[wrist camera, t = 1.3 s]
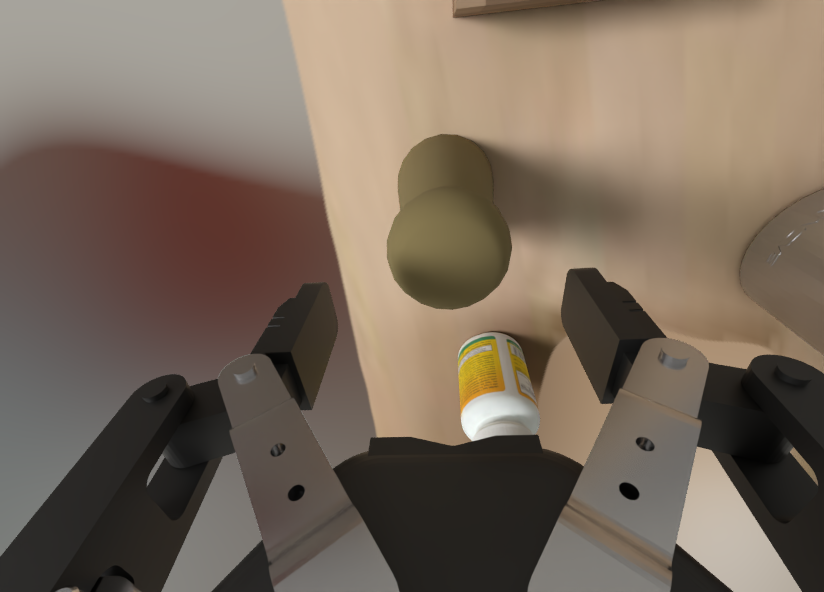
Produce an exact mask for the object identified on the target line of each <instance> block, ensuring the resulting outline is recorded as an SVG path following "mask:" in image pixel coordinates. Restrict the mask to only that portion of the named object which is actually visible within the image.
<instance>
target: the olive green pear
mask: <svg viewBox="0 0 824 592" xmlns="http://www.w3.org/2000/svg"><path fill="white" fill-rule="evenodd" d="M398 194H399V203H400V212H399V213H398V215H397V216H396V217H395V219H394V222H393V224H392V227H391V230H390V233H389V236H388V239H387V259H388V263H389V266H390V269H391V271H392V274H393V277H394V280H395V281H396V282H397V283H398V285H399V286H400V287H401V288H402V290H403V291H404V292H405V293H406V294H408V295H409V296H411V297H412V298H414V299H415V300H417V301H418V302H420V303H421V304H424V305H427V306H430V307H433V308H436V309H452V310H453V309H458V308H463V307H468V306H470V305H472V304H474V303H476V302H478V301H480V300H482V299H484V298H485V297H487V296H488V295H489V294H490V293H491V292H492V291H493V290H494V289H495V288H497V287H498V286H499V284H500V283H501V281H502V279H503V277H504V276H505V274H506V272H507V271H508V266H509V261H510V256H511V251H512V244H511V237H510V231H509V228H508V225H507V223H506V222H505V220H504V218H503V216H502V215H501V213H500V211H499V209H498V208H497V207H496V206H495V205H494V204H493V176H492V170H491V165H490V163H489V161H488V159H487V157H486V155H485V154H484V152H483V151H482V150H481V149H480V148H479V147H478V146H477V145H476V144H474V143H473V142H472V141H471V140H468V139H466V138H463V137H461V136H458V135H445V134H440V135H437V136H434V137H430V138H427V139H425V140H423V141H422V142H420V143H419V144H418V145H416V146H415V147H413V148H412V149H411V151H410V152H409V153H408V155H407V156H406V158H405V159H404V160H403V162H402V165H401V168H400V171H399V175H398Z"/></svg>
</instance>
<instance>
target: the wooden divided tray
mask: <svg viewBox="0 0 824 592" xmlns="http://www.w3.org/2000/svg"><path fill="white" fill-rule="evenodd" d="M591 1H600V0H453V17H461V16H470V15H479V14H487V13H496V12H505V11H513V10H522V9H531V8H539V7H548V6H557V5H565V4H574V3H583V2H591Z"/></svg>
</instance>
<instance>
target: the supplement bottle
mask: <svg viewBox="0 0 824 592" xmlns="http://www.w3.org/2000/svg"><path fill="white" fill-rule="evenodd" d="M458 373H459V390H460V409H461V423H462V427H463V430H464V432H465V433H466V435H467V436H468V437H469V438H470V439H471V440H472V441H476V440H480V439H484V438H488V437H492V436H495V435H535V434H536V432H537V430H538V428H539V424H540V416H539V410H538V406H537V403H536V399H535V395H534V392H533V388H532V385H531V381H530V377H529V374H528V370H527V366H526V362H525V358H524V355H523V352H522V349H521V347H520V345H519V344H518V343H517V342H516V341H515V340H514V339H513V338H511V337H510V336H508V335H505V334H502V333H497V332H488V333H483V334H480V335H476V336H474V337H472V338H470V339H469V340H467V341H466V342H465V343H464V344H463V346H462V347H461V349H460V351H459V354H458Z"/></svg>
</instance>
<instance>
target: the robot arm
mask: <svg viewBox="0 0 824 592" xmlns="http://www.w3.org/2000/svg"><path fill="white" fill-rule="evenodd" d="M740 281H741V285H742V287H743V290H744V292H745V293H746V294H747V295H748V296H749V297H750V298H751V299H752V300H753V301H754V302H756V303H757V304H758V305H760V306H761V307H762V308H763V309H765V310H766V311H767V312H769V313H770V314H771V315H772V316H774V317H775V318H776V319H778V320H779V321H780V322H781V323H783V324H784V325H785V326H787V327H788V328H789V329H790V330H792V331H793V332H794V333H795V334H796V335H798V336H799V337H800V338H802V339H803V340H804V341H805V342H807V343H808V344H809V345H811V346H812V347H813V348H814V349H816V350H817V351H818V352H820V353H821V354H822V355H823V356H824V189H822V190H820V191H818V192H815V193H813V194H811V195H809V196H807V197H804V198H803V199H801V200H799V201H798V202H796V203H795V204H793V205H791V206H790V207H788V208H786V209H785V210H784V211H783V212H781V213H780V214H779V215H778V216H776V217H775V218H774V219H772V220H771V221H770V222H769V223H768V224H767V225H766V226H765V227H764V228H763V229H762V230H761V231H760V232H759V234H758V235H757V236H756V237H755V239H754V240H753V242H752V243H751V244H750V246H749V247H748V249H747V251H746V253H745V256H744V258H743V260H742V264H741V269H740ZM561 318H562V324H563V327H564V329H565V331H566V333H567V335H568V337H569V339H570V341H571V343H572V345H573V347H574V349H575V351H576V353H577V355H578V357H579V359H580V362H581V364H582V366H583V368H584V370H585V372H586V374H587V376H588V378H589V380H590V382H591V384H592V386H593V388H594V390H595V392H596V394H597V396H598V398H599V400H600V403H601V404H609V403H610V404H611V403H613V404H612V407H611V409H610V411H609V413H608V415H607V417H606V420H605V422H604V424H603V426H602V428H601V431H600V433H599V435H598V437H597V439H596V441H595V444H594V446H593V448H592V450H591V452H590V455H589V457H588V459H587V461H586V463H585V465H584V466H582V465H581V464H579V463H578V462H576V461H574V460H572V459H570V458H568V457H566V456H564V455H561V454H559V453H556V452H553V451H550V450H547V449H542V447H541V444H540V440H539V436H538V435H495V436H492V437H488V438H484V439H480V440H476V441H472V442H468V443H464V444H461V445H456V446H450V445H445V444H440V443H436V442H431V441H427V440H422V439H417V438H413V437H382V438H371V439H370V446H369V451H367V452H363V453H360V454H358V455H356V456H353V457H351V458H349V459H347V460H345V461H344V462H342V463H341V464H339V465H338V466H336V467H335V468H332V466H331V465H330V463H329V461H328V459H327V457H326V455H325V454H324V452H323V450H322V448H321V447H320V445H319V443H318V441H317V439H316V437H315V435H314V434H313V432H312V430H311V428H310V426H309V425H308V423H307V421H306V419H305V417H304V415H303V414H302V412H301V410H312V408H313V405H314V402H315V399H316V396H317V394H318V391H319V388H320V384H321V382H322V379H323V376H324V373H325V370H326V367H327V364H328V361H329V358H330V355H331V351H332V349H333V346H334V343H335V340H336V337H337V332H338V322H337V317H336V313H335V309H334V305H333V302H332V297H331V293H330V289H329V286H328V284H327V283H326V282H319V283H304V284H303V285H302V287H301V289H300V290H299V292H298V294H297V296H296V298H290V299H288V300H287V301H286V302H285V303H283V304H282V305H281V306H280V307H278V309H277V311H276V312H275V314H274V316H273V319H271V321H270V322H269V324H268V328H266V329H265V331H264V332H263V334H262V336H261V337H260V339H259V341H258V342H257V344H256V346H255V347H254V349H253V350H252V352H251V354H250V355H246V356H242V357H240V358H238V359H236V360H234V361H232V362H231V363H229V364H228V365H227V366H226V367H225V368H224V369H223V370H222V371H221V373H220V375H219V377H218V379H215V380H211V381H208V382H204V383H200V384H196V385H193V386H189V385H188V383H187V381H186V380H185V378H184V377H182V376H180V375H176V374H171V375H165V376H161V377H158V378H156V379H153V380H151V381H149V382H148V383H146V384H144V385H142V386H141V387H140V388H139V389H137V390H136V391H135V392H134V393H133V394H132V395H131V396H130V398H129V399H128V400H127V401H126V403H125V404H124V405H123V406H122V407H121V409H120V410H119V411H118V412H117V414H116V415H115V416H114V417H113V418H112V420H111V421H110V422H109V423H108V425H107V426H106V427H105V428H104V430H103V431H102V432H101V433H100V434H99V436H98V437H97V438H96V440H95V441H94V442H93V443H92V444H91V446H90V447H89V448H88V449H87V451H86V452H85V453H84V454H83V456H82V457H81V458H80V459H79V461H78V462H77V463H76V464H75V465H74V467H73V468H72V469H71V470H70V471H69V473H68V474H67V475H66V477H65V478H64V479H63V480H62V481H61V483H60V484H59V485H58V486H57V487H56V489H55V490H54V491H53V492H52V494H51V495H50V496H49V497H48V499H47V500H46V501H45V502H44V503H43V505H42V506H41V507H40V508H39V510H38V511H37V512H36V513H35V515H34V516H33V517H32V518H31V520H30V521H29V522H28V523H27V525H26V526H25V527H24V528H23V529H22V531H21V532H20V533H19V534H18V536H17V537H16V538H15V539H14V540H13V542H12V543H11V544H10V546H9V547H8V548H7V549H6V551H5V552H4V553H3V554H2V555H1V557H0V592H161V591H162V589H163V587H164V584H165V582H166V580H167V578H168V576H169V573H170V571H171V569H172V567H173V565H174V563H175V560H176V558H177V556H178V554H179V552H180V549H181V547H182V545H183V543H184V541H185V538H186V536H187V534H188V532H189V530H190V527H191V525H192V523H193V521H194V519H195V516H196V514H197V512H198V510H199V507H200V505H201V503H202V501H203V499H204V496H205V494H206V492H207V490H208V488H209V486H210V483H211V481H212V479H213V477H214V475H215V473H216V470H217V468H218V466H219V464H220V462H221V459H222V457H223V456H225V455H229V454H232V453H235V452H236V456H237V459H238V462H239V465H240V468H241V472H242V475H243V478H244V481H245V485H246V488H247V492H248V495H249V498H250V501H251V505H252V508H253V511H254V514H255V518H256V521H257V524H258V527H259V531H260V534H261V537H262V541H261V542H260V543H259V544H258V545H257V546H256V547H255V548H254V549H253V550H252V551H251V552H250V553H249V554H248V555H247V556H246V557H245V558H244V559H243V560H242V561H241V562H240V563H239V564H238V565H237V566H236V567H235V568H234V569H233V570H232V571H231V572H230V573H229V574H228V575H227V576H226V577H225V578H224V580H222V581H221V582H220V583H219V585H217V587H216V588H215V589H214V590H213V591H212V592H733V591H732V590H731V589H729V588H728V587H727V586H726V585H725V584H724V583H722V582H721V581H720V580H719V579H718V578H716V577H715V576H714V575H713V574H712V573H710V572H709V571H708V570H707V569H706V568H705V567H703V566H702V565H701V564H700V563H699V562H697V561H696V560H695V559H694V558H693V557H692V556H690V555H689V554H688V553H687V552H686V551H684V550H683V549H682V548H681V547H680V546H679V545H677V544H676V540H677V535H678V531H679V526H680V521H681V517H682V511H683V508H684V503H685V498H686V494H687V489H688V485H689V480H690V475H691V470H692V466H693V461H694V457H695V452H696V448H697V447H702V448H706V449H709V450H712V451H713V453H714V454H715V456H716V458H717V459H718V461H719V462H720V464H721V465H722V467H723V469H724V470H725V472H726V473H727V475H728V476H729V478H730V480H731V481H732V482H733V484H734V486H735V487H736V489H737V490H738V492H739V494H740V495H741V497H742V498H743V500H744V501H745V503H746V505H747V506H748V508H749V509H750V511H751V512H752V514H753V516H754V517H755V519H756V520H757V522H758V523H759V525H760V527H761V528H762V530H763V531H764V533H765V534H766V536H767V537H768V539H769V541H770V542H771V544H772V545H773V547H774V548H775V550H776V552H777V553H778V554H779V556H780V558H781V559H782V561H783V563H784V564H785V566H786V567H787V569H788V570H789V572H790V573H791V575H792V577H793V578H794V580H795V581H796V583H797V584H798V586H799V588H800V589H801V591H802V592H824V374H823V373H822V372H820V371H819V370H817V369H816V368H814V367H812V366H810V365H808V364H806V363H804V362H801V361H798V360H796V359H792V358H789V357H784V356H779V355H761V356H757V357H755V358H754V359H753V360H752V361H751V363H750V365H749V366H748V368H747V369H742V368H735V367H730V366H724V365H718V364H713V363H708V360H707V358H706V357H705V356H704V355H703V354H702V353H701V352H700V351H699V350H697V349H696V348H694V347H693V346H691V345H688V344H687V343H684V342H681V341H678V340H675V339H669V338H667V337H666V336H665V335H664V334H663V332H662V331H661V330H660V329H659V328H658V326H657V325H656V324H655V323H654V322H653V320H652V319H651V318H650V317H649V316H648V314H647V313H646V312H645V311H643V308H642V307H641V306H640V305H639V304H638V303H636V300H635V299H634V298H633V296H632V295H631V294H630V293H629V292H628V290H626V289H624V288H623V287H621V286H619V285H618V284H616V283H614V282H606V280H605V279H604V278H603V276H602V275H601V274H600V273H599V271H598V270H597V269H596V268H579V269H570V270H569V271H568V273H567V277H566V283H565V289H564V295H563V302H562V308H561ZM793 447H794V448H795V449H796V450H797V451H798V453H799V454H800V455H801V456H802V457H803V458H804V460H805V461H806V462H807V463H808V464H809V465H810V467H811V468H812V469H813V471H814V473H815V475H816V477H817V480H818V486H817V484H816V483H815V482H814V481H813V480H812V478H811V477H810V476H809V475H808V474H807V472H806V471H805V470H804V469H803V468H802V466H801V465H800V464H799V463H798V462H797V460H796V459H795V458H794V457H793V456H792V454H791V453H790V451H791V449H792V448H793ZM161 454H163V456H164V457H165V458H164V460H163V462H162V463H161V465H160V466H159V468H158V470H157V472H156V473H155V475H154V476H153V478H152V480H151V482H150V483H149V485H148V486H147V479H148V476H149V474H150V472H151V470H152V469H153V467H154V465H155V464H156V462H157V461H158V459H159V457H160V456H161Z"/></svg>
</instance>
